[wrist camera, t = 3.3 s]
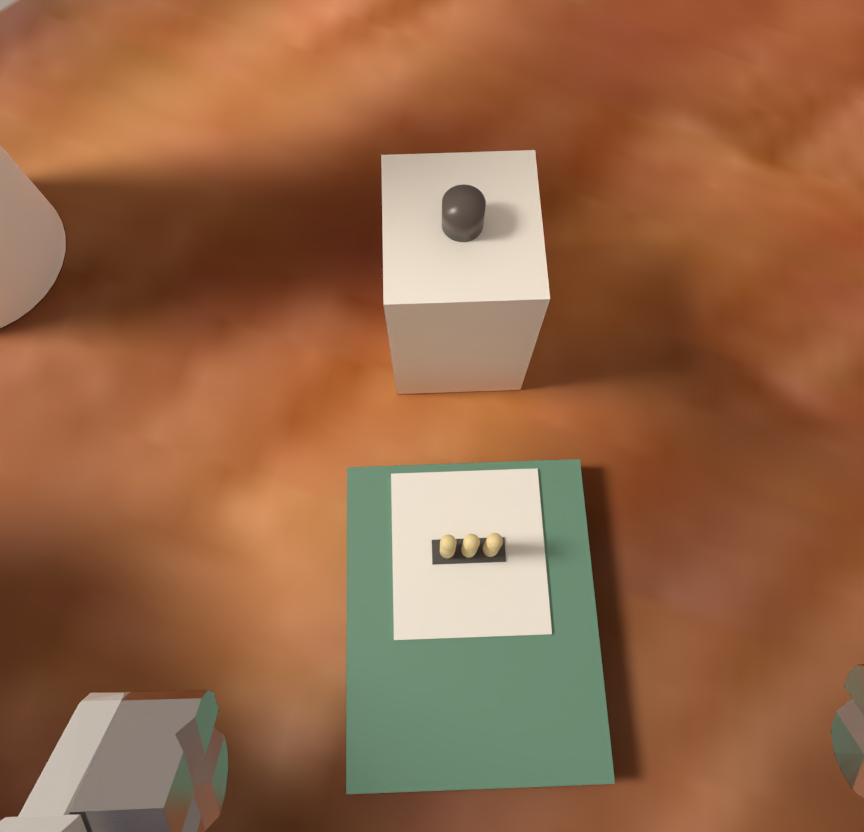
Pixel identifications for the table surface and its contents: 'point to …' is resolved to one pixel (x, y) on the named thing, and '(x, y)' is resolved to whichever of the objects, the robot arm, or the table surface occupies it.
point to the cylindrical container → (26, 242)
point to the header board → (472, 630)
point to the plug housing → (462, 269)
